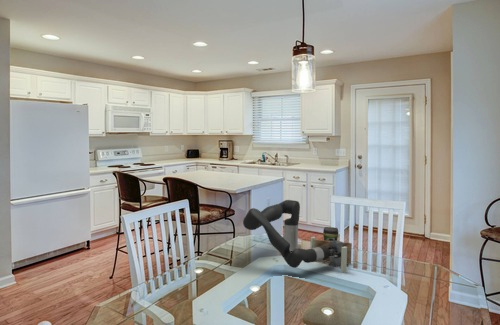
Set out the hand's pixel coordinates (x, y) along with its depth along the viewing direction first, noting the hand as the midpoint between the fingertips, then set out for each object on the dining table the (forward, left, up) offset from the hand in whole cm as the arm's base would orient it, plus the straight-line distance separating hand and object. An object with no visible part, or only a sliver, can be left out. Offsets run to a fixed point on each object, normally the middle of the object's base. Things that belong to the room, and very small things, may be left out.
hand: (339, 250), depth 193 cm
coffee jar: (-15, +8, -9) cm, 19 cm away
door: (-5, 0, -8) cm, 10 cm away
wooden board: (-2, -7, -9) cm, 11 cm away
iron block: (-1, -2, -9) cm, 9 cm away
